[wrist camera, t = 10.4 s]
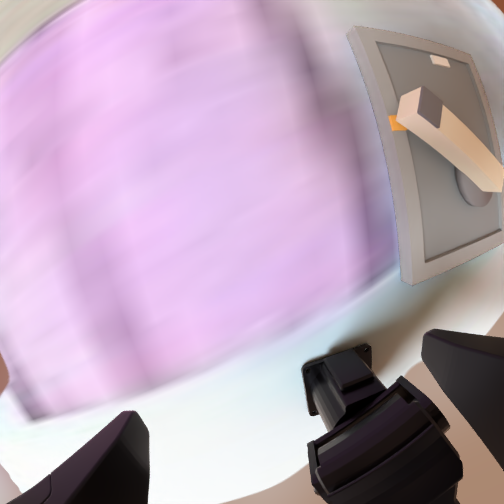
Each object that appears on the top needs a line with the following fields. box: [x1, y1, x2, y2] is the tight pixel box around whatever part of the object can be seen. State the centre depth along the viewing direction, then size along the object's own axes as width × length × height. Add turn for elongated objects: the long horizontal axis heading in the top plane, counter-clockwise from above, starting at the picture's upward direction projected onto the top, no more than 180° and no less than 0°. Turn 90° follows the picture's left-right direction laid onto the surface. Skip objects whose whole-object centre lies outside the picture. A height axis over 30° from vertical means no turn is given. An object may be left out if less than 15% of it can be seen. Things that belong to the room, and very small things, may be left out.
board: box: [346, 26, 504, 286], centre depth 18 cm, size 22×17×2 cm
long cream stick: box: [396, 86, 504, 207], centre depth 16 cm, size 14×6×4 cm, turn 70°
